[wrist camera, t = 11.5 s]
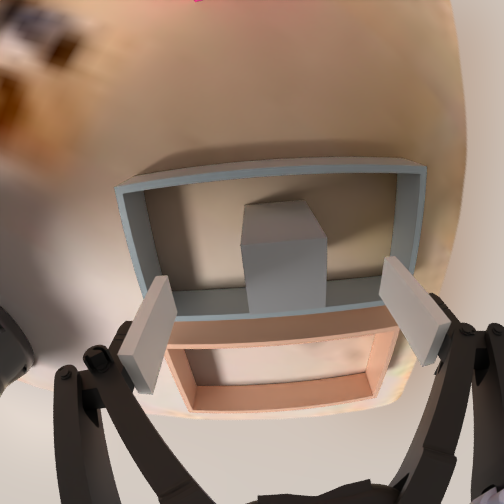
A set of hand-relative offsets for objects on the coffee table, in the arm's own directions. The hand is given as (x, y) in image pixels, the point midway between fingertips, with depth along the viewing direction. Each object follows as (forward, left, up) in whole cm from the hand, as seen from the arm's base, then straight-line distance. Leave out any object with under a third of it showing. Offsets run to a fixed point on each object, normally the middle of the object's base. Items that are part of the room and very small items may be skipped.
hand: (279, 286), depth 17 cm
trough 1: (0, 0, -9) cm, 9 cm away
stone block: (0, 0, -9) cm, 9 cm away
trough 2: (0, -15, -9) cm, 17 cm away
